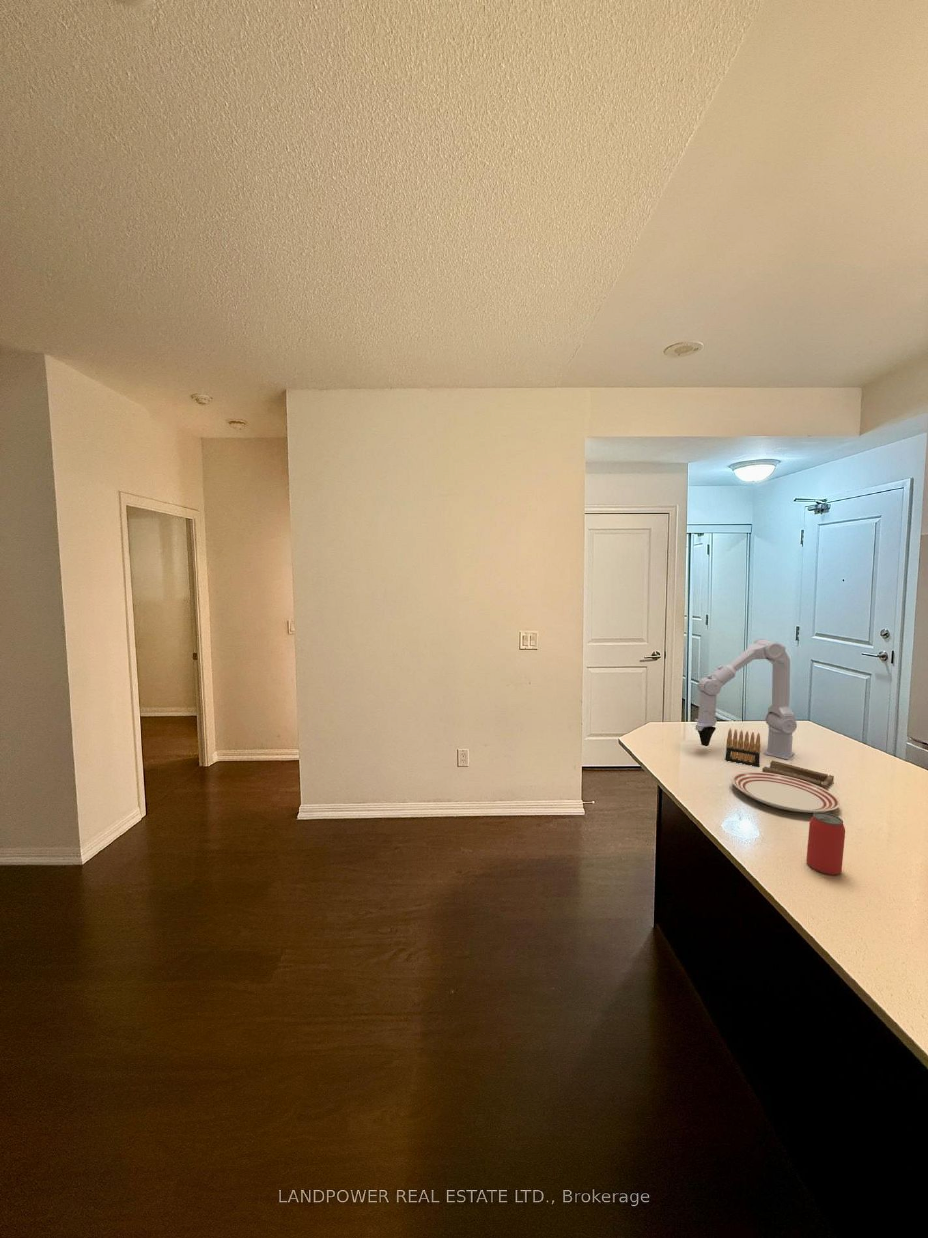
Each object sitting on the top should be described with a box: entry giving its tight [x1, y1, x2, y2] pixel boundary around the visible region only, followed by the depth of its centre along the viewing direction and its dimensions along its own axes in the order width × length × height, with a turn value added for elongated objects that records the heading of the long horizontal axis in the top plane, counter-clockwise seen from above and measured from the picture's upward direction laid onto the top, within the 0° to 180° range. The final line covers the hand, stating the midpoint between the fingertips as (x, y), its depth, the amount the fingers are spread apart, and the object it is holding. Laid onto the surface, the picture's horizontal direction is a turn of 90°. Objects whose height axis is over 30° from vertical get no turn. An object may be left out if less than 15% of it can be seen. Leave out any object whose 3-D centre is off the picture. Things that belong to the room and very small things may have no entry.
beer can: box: [805, 812, 846, 876], centre depth 112 cm, size 7×7×12 cm
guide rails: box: [761, 760, 835, 791], centre depth 163 cm, size 11×18×2 cm, turn 42°
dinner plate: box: [731, 771, 841, 814], centre depth 148 cm, size 27×27×3 cm
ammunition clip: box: [724, 728, 761, 768], centre depth 175 cm, size 11×2×12 cm, turn 59°
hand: (704, 745), depth 184 cm, fingers closed
